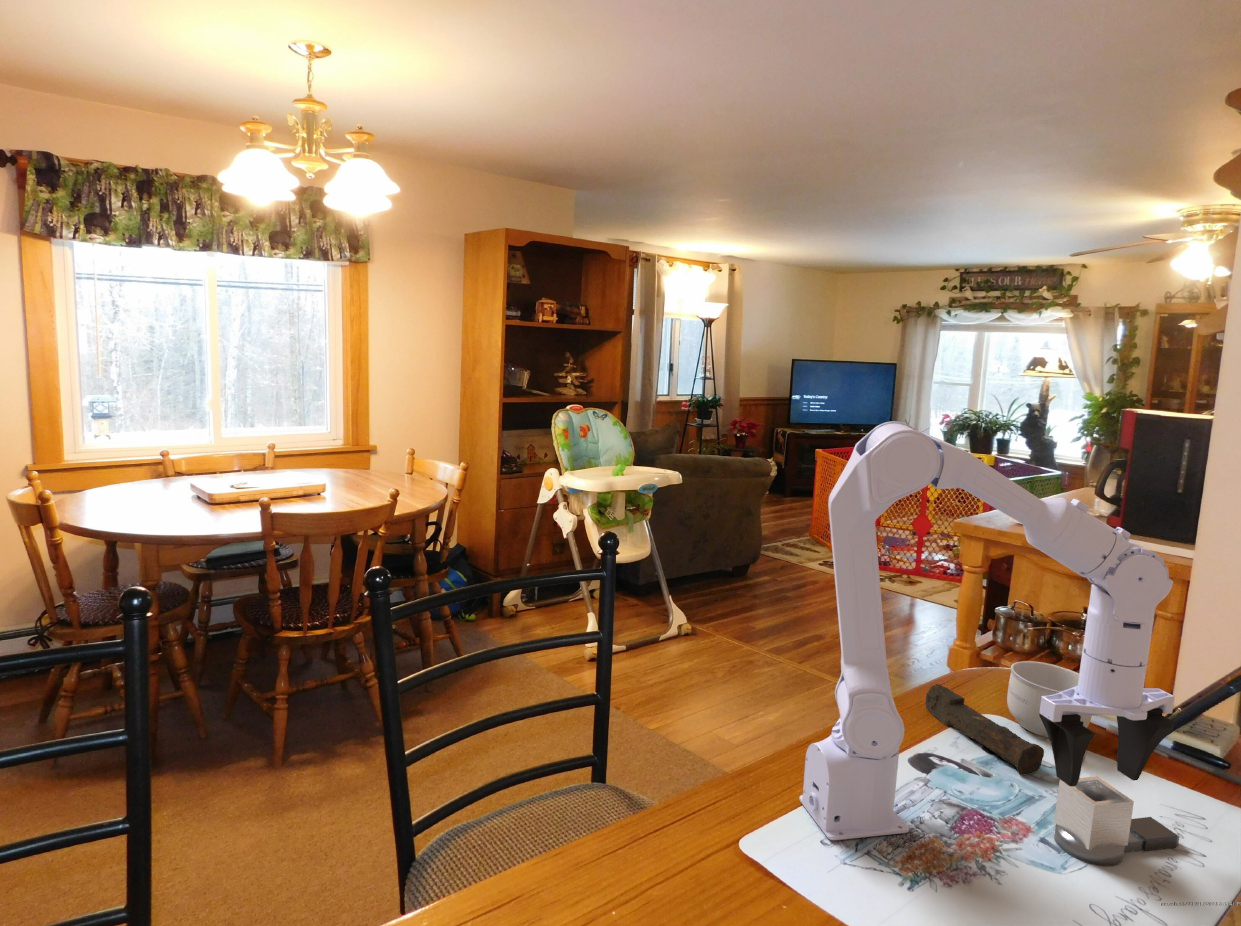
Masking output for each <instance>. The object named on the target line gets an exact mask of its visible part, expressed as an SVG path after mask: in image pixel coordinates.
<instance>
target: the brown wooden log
mask: <svg viewBox="0 0 1241 926" xmlns="http://www.w3.org/2000/svg"><path fill="white" fill-rule="evenodd" d="M925 708H926V709H927V710H928V712H929V713H930V714H931V715H932V716H933V717H934V718H935V719H937V720H938V721H939V722H940V723H942V724H943V726H945V727H949V728H956V729H957V730H959V731H961V732H962V733H963V734H966V736H968V737H969V738H971V739H974V740H975V741H976V742H977V743H980V744H981V745H982V746H984V747H985V748H986V749H988V750H989V751H991V752H992V753H993V754H996V755H997V756H999V757H1000V758H1002V759H1003V760H1004V761H1006V763H1009V764H1011V765H1013V766H1015V768H1016V770H1017V773H1018V774H1019V775H1020V776H1024V775H1030V774H1032V775H1033V774H1034V773H1036V772H1038V770H1039V769H1040V768H1041V766H1042V761H1043V759H1044V757H1045V749H1044V748H1043V747H1042V746H1041V745H1039V744H1037V743H1033V742H1032V743H1031V742H1029V741H1027V740H1025V739H1024V738H1022V737H1020V736H1019V735H1018V734H1016V733H1014V732H1013V731H1011V730H1010V729H1009V728H1008V727H1006V726H1004V725H1003V726H1002V725H999V724H998V723H997V722H995V721H994V720H992V719H990V718H988V717H986V716H985V715H983V714H981V713H979V712H978V711H977V710H975V709H973V708H972V707H970V706H969V705H968V704H965V698H964V697H963V696H961V695H959V694H957V693H955V691H953V690H951V689H950V688H947V687H945V686H943V685H942V684H938V683H937V684H935V685H932V686H931V687H930V688H929V689H928V691H927V692H926V695H925Z"/></svg>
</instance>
